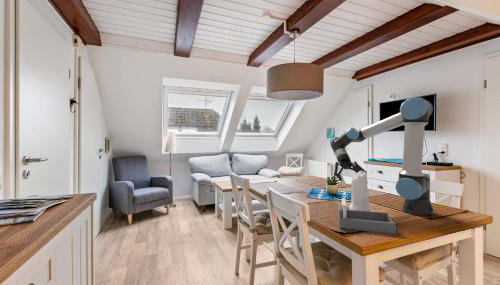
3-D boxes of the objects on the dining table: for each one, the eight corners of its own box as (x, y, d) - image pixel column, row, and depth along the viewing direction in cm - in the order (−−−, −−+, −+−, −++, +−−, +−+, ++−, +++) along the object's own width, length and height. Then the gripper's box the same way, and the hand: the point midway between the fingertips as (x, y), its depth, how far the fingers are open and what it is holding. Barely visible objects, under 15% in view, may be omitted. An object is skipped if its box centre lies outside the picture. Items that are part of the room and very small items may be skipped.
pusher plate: (344, 217, 126) (344, 198, 126) (346, 225, 114) (346, 205, 114) (340, 216, 127) (340, 198, 127) (341, 225, 115) (341, 204, 114)
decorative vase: (359, 218, 126) (358, 172, 126) (345, 213, 137) (344, 170, 136) (375, 215, 130) (374, 171, 130) (360, 210, 140) (359, 169, 140)
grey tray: (387, 222, 121) (387, 205, 121) (395, 234, 106) (395, 214, 106) (338, 217, 129) (338, 201, 129) (339, 228, 114) (339, 210, 113)
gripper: (358, 160, 155) (372, 187, 140) (322, 161, 152) (332, 189, 138) (363, 152, 150) (378, 180, 135) (325, 153, 147) (337, 181, 132)
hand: (355, 184), depth 136 cm, fingers open, 13 cm apart
